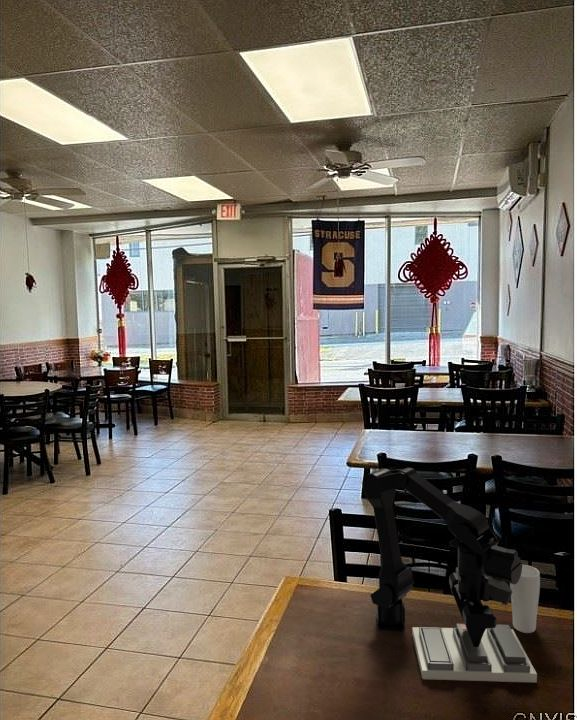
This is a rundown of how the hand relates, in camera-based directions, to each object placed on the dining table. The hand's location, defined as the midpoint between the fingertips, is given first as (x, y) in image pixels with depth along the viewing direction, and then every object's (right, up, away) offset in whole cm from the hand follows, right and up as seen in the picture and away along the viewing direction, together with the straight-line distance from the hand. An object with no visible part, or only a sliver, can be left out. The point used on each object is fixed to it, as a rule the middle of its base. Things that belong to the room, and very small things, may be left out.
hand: (470, 634), depth 124 cm
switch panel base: (0, -6, +2) cm, 6 cm away
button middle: (0, -3, 0) cm, 3 cm away
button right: (+8, -3, -1) cm, 8 cm away
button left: (-8, -4, +1) cm, 9 cm away
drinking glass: (+17, -5, +12) cm, 22 cm away
